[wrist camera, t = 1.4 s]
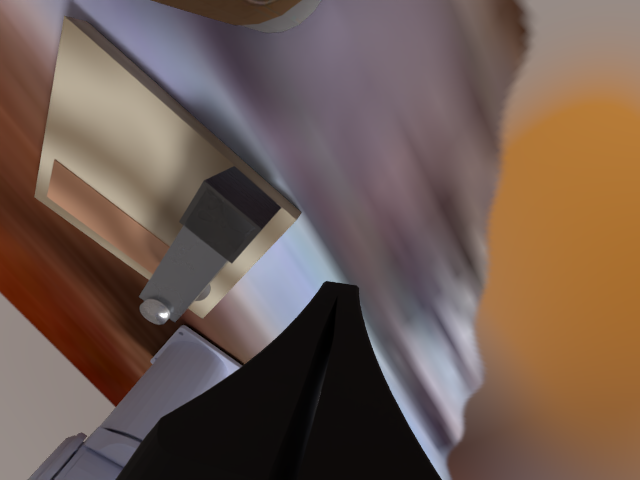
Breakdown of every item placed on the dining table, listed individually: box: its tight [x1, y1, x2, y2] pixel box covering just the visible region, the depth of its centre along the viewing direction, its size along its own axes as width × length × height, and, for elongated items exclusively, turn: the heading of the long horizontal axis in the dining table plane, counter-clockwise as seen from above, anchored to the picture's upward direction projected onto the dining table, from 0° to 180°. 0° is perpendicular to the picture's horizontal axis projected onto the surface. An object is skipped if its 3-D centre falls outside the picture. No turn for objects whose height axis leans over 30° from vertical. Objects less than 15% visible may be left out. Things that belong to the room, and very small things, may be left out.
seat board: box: [35, 16, 301, 319], centre depth 19 cm, size 14×16×1 cm
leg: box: [139, 166, 282, 325], centre depth 17 cm, size 12×4×3 cm, turn 139°
